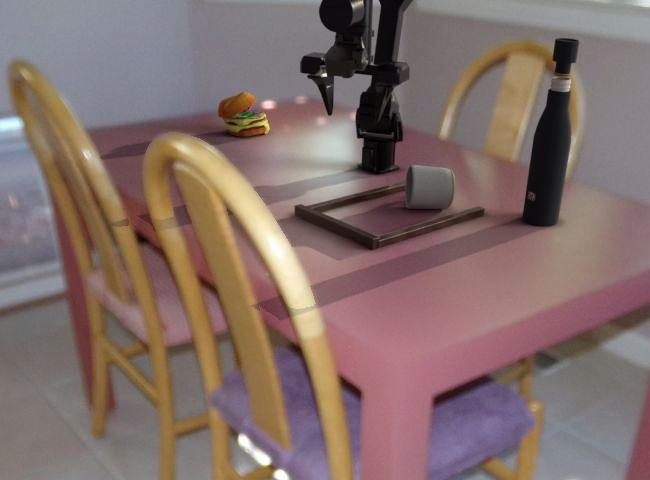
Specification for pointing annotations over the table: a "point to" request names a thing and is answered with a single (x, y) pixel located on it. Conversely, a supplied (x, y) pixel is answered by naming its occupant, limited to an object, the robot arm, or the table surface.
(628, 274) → the table surface
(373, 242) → the brown wooden flat frame
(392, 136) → the robot arm
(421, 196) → the ceramic mug
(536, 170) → the black bottle
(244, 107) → the cheeseburger
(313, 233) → the table surface
